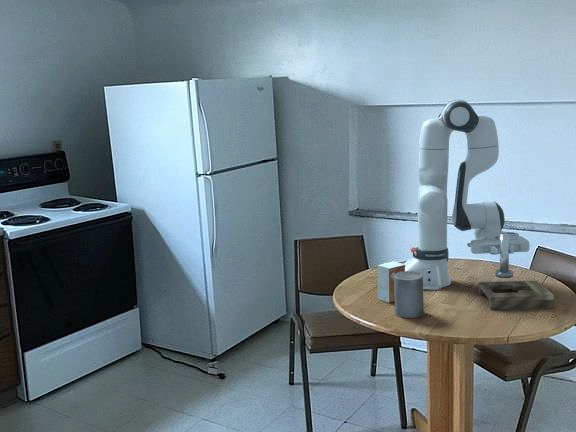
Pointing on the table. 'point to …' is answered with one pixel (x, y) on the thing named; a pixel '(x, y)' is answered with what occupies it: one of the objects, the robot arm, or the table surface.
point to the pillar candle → (408, 294)
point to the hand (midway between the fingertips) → (505, 251)
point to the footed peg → (504, 258)
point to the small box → (388, 280)
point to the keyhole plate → (516, 295)
